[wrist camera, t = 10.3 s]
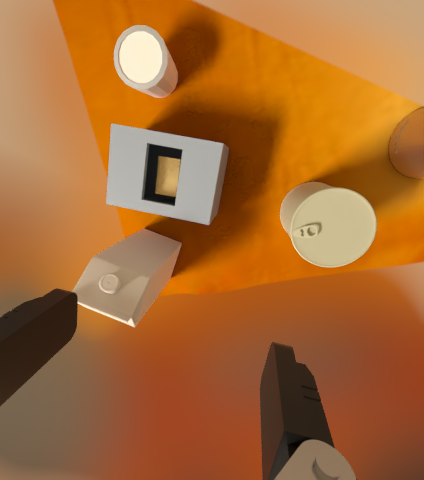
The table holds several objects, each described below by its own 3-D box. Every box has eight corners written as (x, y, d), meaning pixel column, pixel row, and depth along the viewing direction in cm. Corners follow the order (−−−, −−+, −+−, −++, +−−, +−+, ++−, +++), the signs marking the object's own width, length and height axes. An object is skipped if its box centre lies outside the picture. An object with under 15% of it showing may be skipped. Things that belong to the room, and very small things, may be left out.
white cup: (153, 38, 37) (131, 10, 31) (191, 69, 38) (178, 48, 31) (128, 83, 39) (103, 66, 33) (165, 112, 40) (147, 101, 33)
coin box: (229, 148, 40) (223, 143, 31) (217, 213, 43) (208, 225, 34) (140, 132, 41) (111, 123, 32) (134, 196, 44) (106, 203, 35)
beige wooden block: (189, 160, 40) (180, 159, 35) (185, 193, 42) (176, 197, 36) (170, 157, 41) (158, 156, 35) (167, 190, 42) (155, 193, 37)
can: (276, 186, 40) (286, 194, 29) (341, 177, 39) (379, 181, 27) (282, 244, 42) (293, 273, 31) (344, 238, 41) (380, 265, 29)
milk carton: (170, 278, 47) (119, 348, 29) (133, 264, 47) (59, 324, 29) (182, 242, 45) (135, 293, 27) (143, 227, 45) (70, 268, 27)
